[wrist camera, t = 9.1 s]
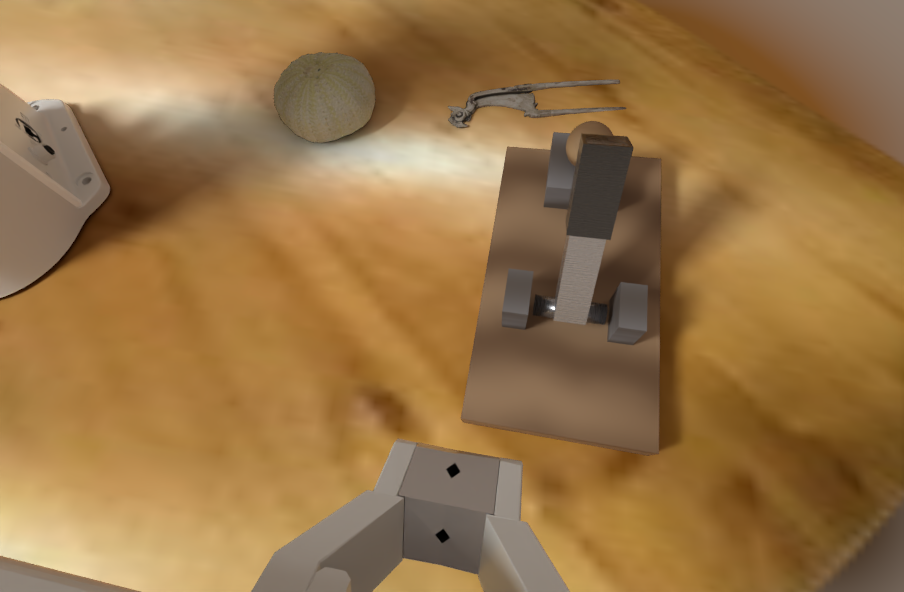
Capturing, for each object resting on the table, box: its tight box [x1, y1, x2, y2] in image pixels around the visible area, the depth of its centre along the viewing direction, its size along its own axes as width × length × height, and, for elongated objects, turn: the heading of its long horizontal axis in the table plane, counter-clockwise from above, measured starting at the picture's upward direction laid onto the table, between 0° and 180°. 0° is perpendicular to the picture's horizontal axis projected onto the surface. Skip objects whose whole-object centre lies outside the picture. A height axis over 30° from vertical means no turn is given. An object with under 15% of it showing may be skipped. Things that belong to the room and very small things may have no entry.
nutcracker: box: [448, 80, 626, 128], centre depth 40 cm, size 16×1×5 cm
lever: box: [533, 133, 633, 325], centre depth 26 cm, size 2×5×12 cm
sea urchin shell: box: [274, 52, 376, 143], centre depth 40 cm, size 9×8×8 cm
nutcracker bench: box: [461, 121, 661, 456], centre depth 29 cm, size 22×12×8 cm, turn 170°
